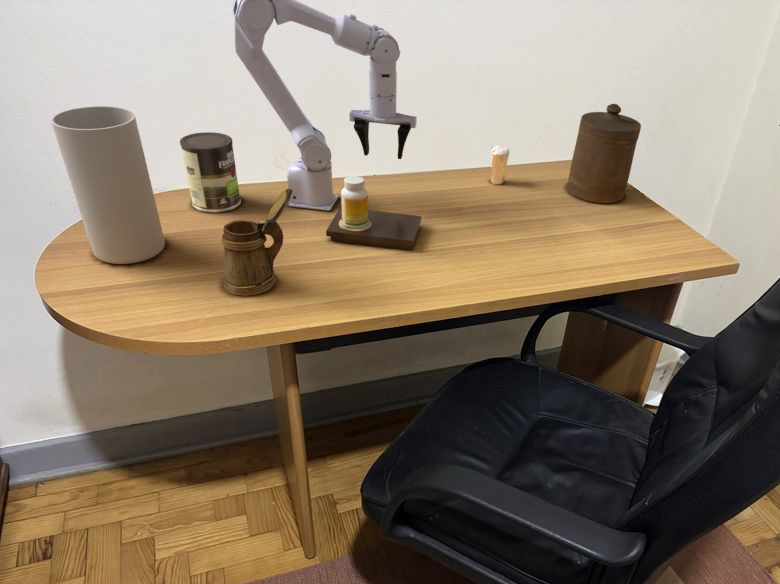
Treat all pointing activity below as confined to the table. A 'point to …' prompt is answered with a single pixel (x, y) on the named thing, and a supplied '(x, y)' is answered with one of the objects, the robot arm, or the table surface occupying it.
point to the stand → (378, 230)
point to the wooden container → (603, 156)
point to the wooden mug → (253, 251)
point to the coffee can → (211, 171)
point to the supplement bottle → (354, 202)
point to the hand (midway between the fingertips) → (383, 155)
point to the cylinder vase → (110, 182)
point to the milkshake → (498, 164)
